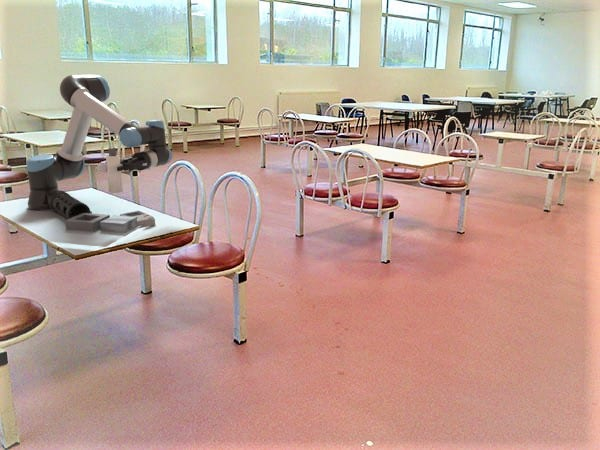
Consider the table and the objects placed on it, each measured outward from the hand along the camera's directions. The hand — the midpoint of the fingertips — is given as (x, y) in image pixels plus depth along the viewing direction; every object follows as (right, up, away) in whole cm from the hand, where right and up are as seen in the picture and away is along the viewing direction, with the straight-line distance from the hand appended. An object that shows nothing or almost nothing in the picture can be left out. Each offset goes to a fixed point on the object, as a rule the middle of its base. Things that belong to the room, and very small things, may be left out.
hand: (104, 169), depth 195 cm
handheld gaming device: (+5, -21, +24) cm, 32 cm away
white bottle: (+2, -8, +7) cm, 11 cm away
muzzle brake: (-23, -13, +34) cm, 43 cm away
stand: (+2, -23, +12) cm, 26 cm away
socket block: (-11, -23, +14) cm, 29 cm away
